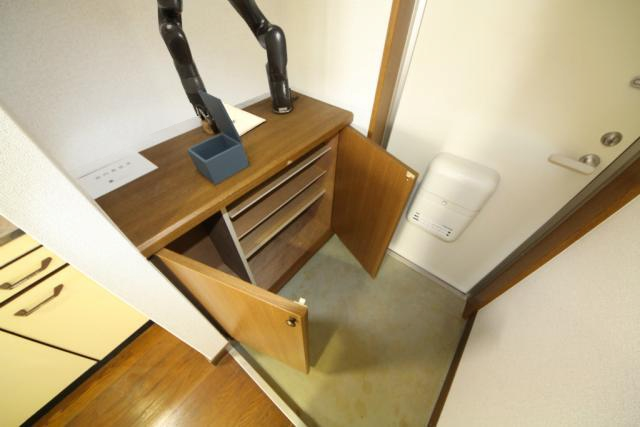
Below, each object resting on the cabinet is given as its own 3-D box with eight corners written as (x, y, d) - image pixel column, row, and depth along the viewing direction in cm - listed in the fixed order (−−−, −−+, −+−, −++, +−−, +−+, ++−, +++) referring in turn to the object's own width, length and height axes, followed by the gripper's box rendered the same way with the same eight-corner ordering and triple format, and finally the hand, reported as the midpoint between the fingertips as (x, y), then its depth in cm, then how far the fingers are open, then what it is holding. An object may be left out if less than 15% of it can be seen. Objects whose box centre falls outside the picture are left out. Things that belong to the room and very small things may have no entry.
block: (214, 127, 100) (210, 117, 97) (219, 130, 98) (215, 120, 95) (205, 131, 98) (200, 121, 95) (210, 134, 96) (206, 124, 93)
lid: (218, 100, 61) (220, 99, 62) (197, 90, 67) (199, 89, 67) (240, 143, 73) (242, 141, 74) (221, 131, 79) (223, 130, 79)
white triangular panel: (255, 103, 103) (214, 103, 90) (263, 102, 99) (221, 101, 86) (262, 137, 109) (224, 142, 95) (269, 136, 105) (231, 141, 91)
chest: (215, 184, 74) (204, 162, 67) (197, 170, 79) (186, 149, 73) (249, 165, 81) (242, 143, 74) (230, 153, 86) (222, 132, 79)
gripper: (213, 89, 84) (227, 130, 96) (194, 81, 90) (210, 121, 103) (194, 96, 80) (212, 137, 93) (176, 87, 87) (195, 127, 99)
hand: (211, 128), depth 98 cm, fingers open, 7 cm apart
